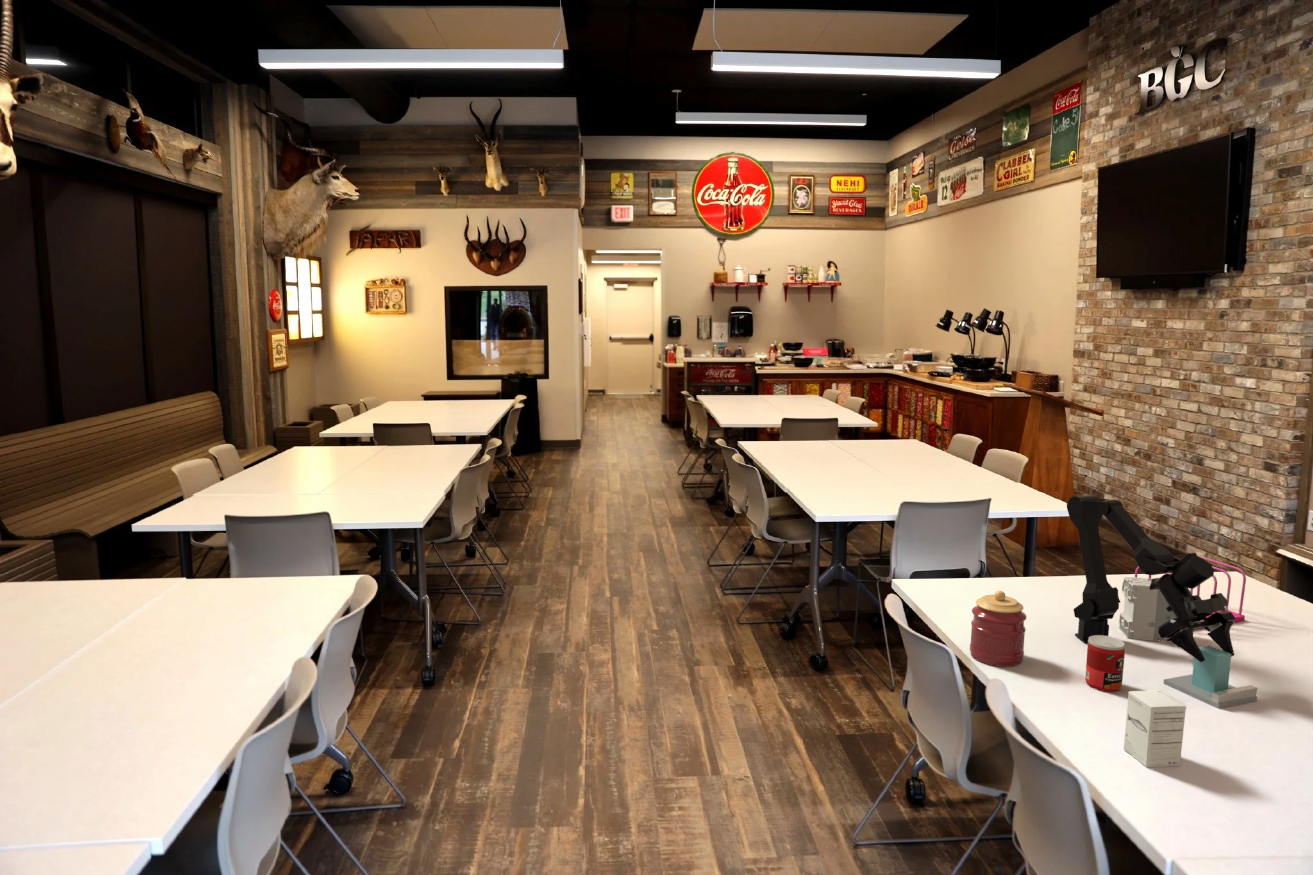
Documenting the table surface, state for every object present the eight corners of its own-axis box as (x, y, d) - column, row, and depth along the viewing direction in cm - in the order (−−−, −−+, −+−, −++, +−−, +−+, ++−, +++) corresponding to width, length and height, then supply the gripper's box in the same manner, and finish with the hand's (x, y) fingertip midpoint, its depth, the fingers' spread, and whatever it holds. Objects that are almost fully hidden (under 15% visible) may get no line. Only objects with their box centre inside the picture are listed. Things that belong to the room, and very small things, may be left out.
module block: (1191, 684, 203) (1195, 647, 202) (1205, 681, 205) (1209, 645, 204) (1213, 693, 198) (1217, 656, 197) (1227, 691, 200) (1231, 653, 198)
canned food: (1108, 695, 200) (1111, 649, 198) (1077, 682, 207) (1080, 638, 205) (1129, 688, 203) (1133, 643, 202) (1098, 676, 210) (1101, 632, 209)
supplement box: (1122, 749, 175) (1127, 690, 173) (1156, 747, 176) (1162, 688, 174) (1145, 768, 168) (1150, 706, 166) (1181, 766, 168) (1187, 705, 167)
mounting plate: (1163, 683, 206) (1164, 671, 206) (1200, 676, 210) (1201, 664, 210) (1218, 708, 193) (1219, 695, 193) (1256, 700, 197) (1258, 688, 197)
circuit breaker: (1185, 642, 232) (1190, 588, 230) (1127, 638, 235) (1131, 584, 233) (1174, 632, 239) (1179, 580, 237) (1118, 628, 242) (1122, 576, 240)
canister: (977, 644, 231) (980, 580, 228) (1028, 655, 223) (1033, 589, 221) (963, 659, 220) (966, 592, 218) (1016, 671, 213) (1021, 602, 210)
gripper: (1173, 585, 199) (1213, 649, 190) (1232, 577, 205) (1273, 638, 196) (1141, 607, 207) (1178, 669, 199) (1198, 599, 213) (1237, 658, 205)
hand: (1217, 658), depth 199 cm, fingers open, 9 cm apart
